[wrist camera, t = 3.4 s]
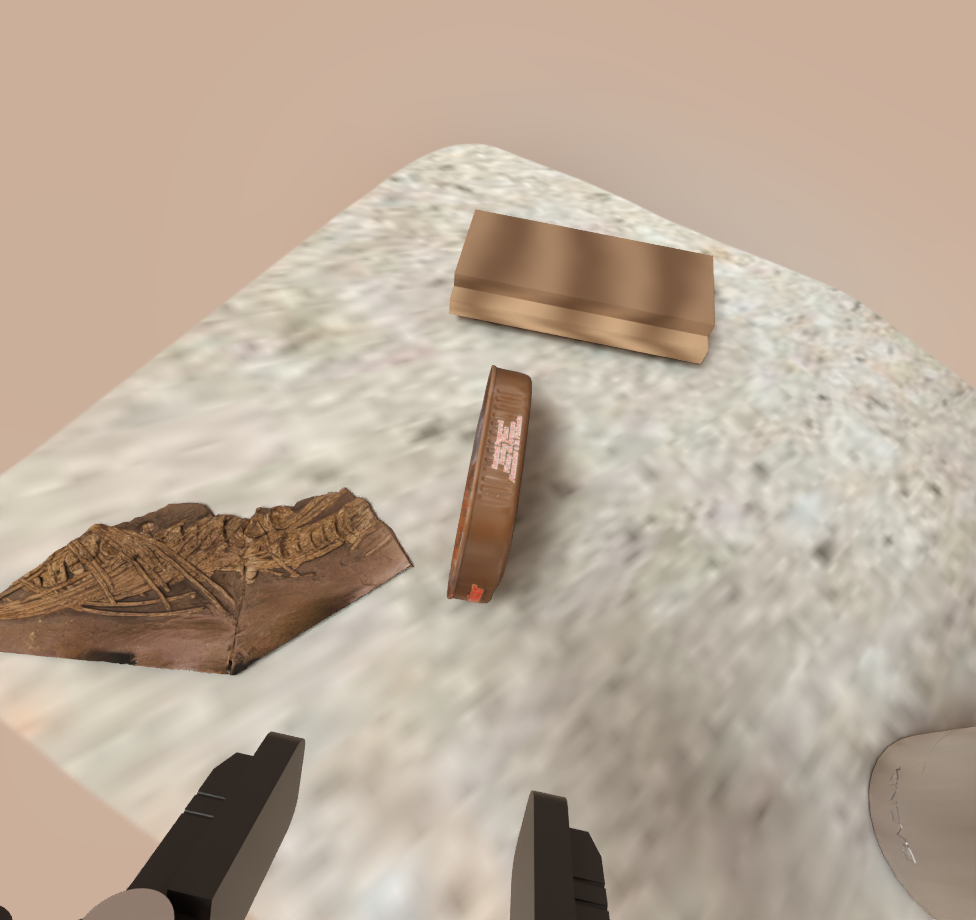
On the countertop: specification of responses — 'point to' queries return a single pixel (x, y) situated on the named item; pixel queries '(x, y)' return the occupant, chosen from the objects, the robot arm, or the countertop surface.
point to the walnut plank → (586, 286)
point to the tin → (491, 488)
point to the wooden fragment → (199, 584)
